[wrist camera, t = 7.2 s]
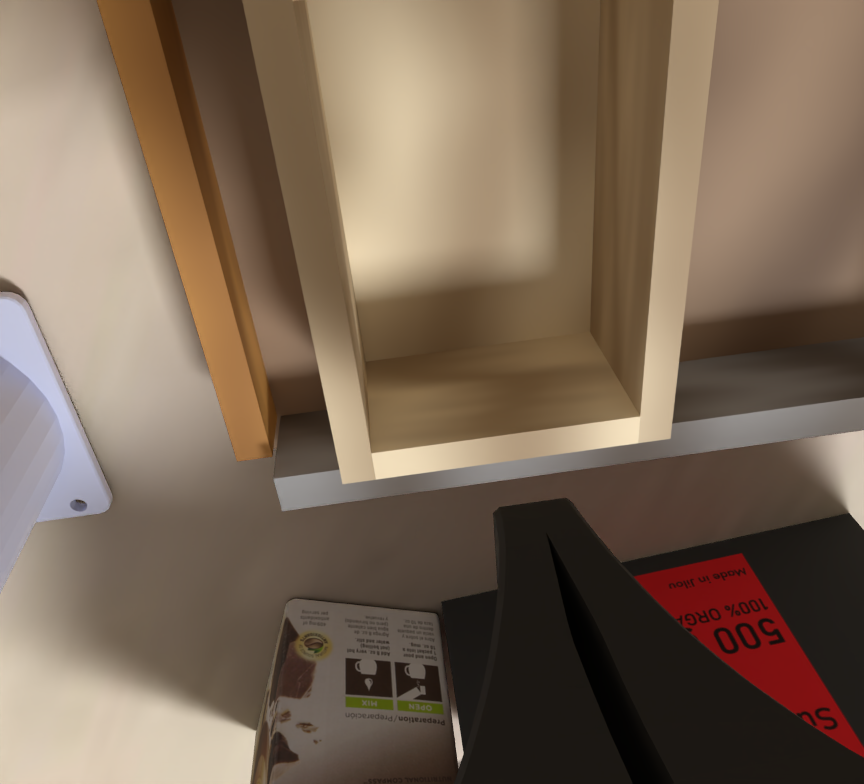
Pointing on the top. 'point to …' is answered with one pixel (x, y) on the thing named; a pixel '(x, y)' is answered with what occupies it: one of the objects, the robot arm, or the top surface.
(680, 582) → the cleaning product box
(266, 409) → the crate bay
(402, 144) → the crate
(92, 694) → the top surface
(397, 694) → the coffee box
